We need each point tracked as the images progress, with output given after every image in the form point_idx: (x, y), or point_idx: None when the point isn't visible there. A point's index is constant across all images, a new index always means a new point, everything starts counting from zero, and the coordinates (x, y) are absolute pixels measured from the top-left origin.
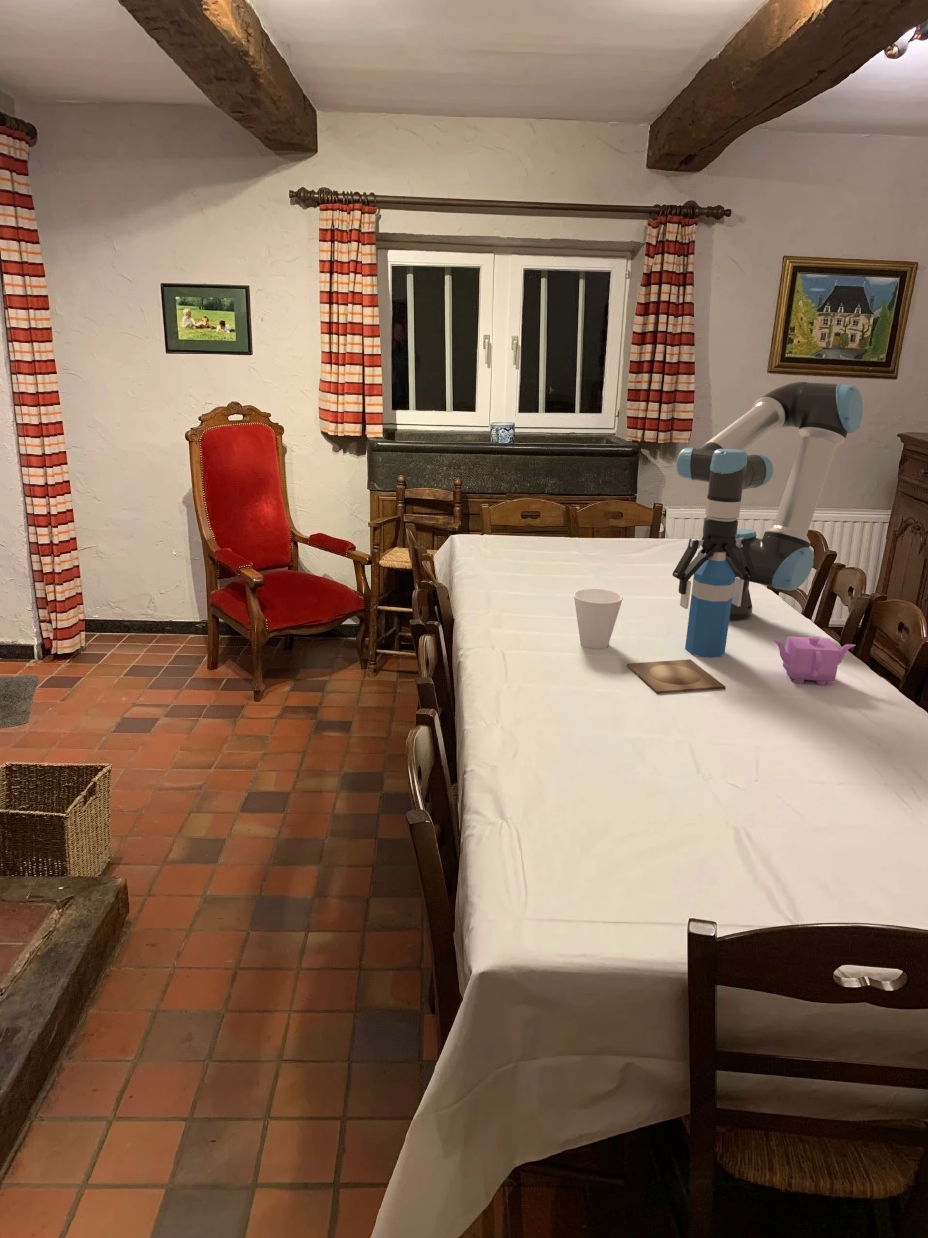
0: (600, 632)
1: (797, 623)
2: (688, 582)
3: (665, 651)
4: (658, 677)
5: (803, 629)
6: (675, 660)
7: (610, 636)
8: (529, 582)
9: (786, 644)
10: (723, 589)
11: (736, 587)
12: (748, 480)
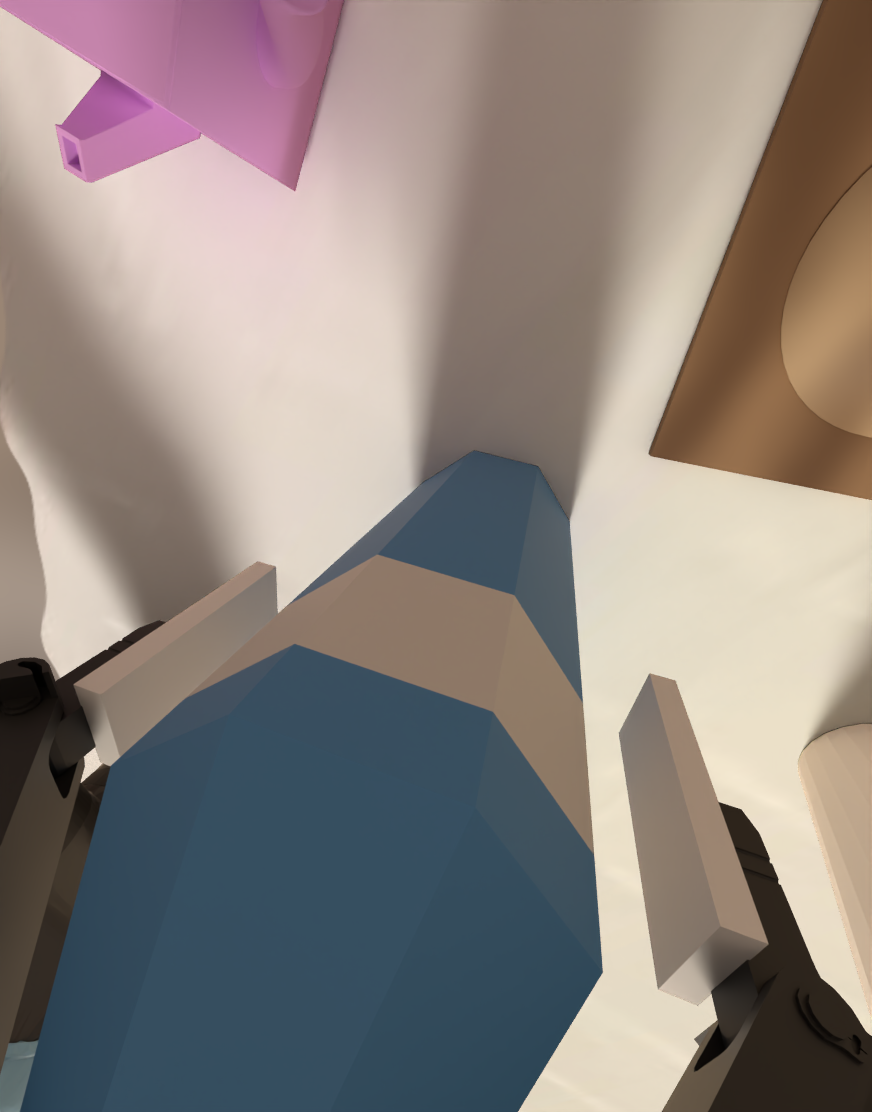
0: None
1: (67, 588)
2: (759, 934)
3: (648, 590)
4: None
5: (65, 546)
6: (735, 471)
7: (869, 760)
8: (583, 1061)
9: (212, 125)
10: (387, 636)
11: (188, 677)
12: None
